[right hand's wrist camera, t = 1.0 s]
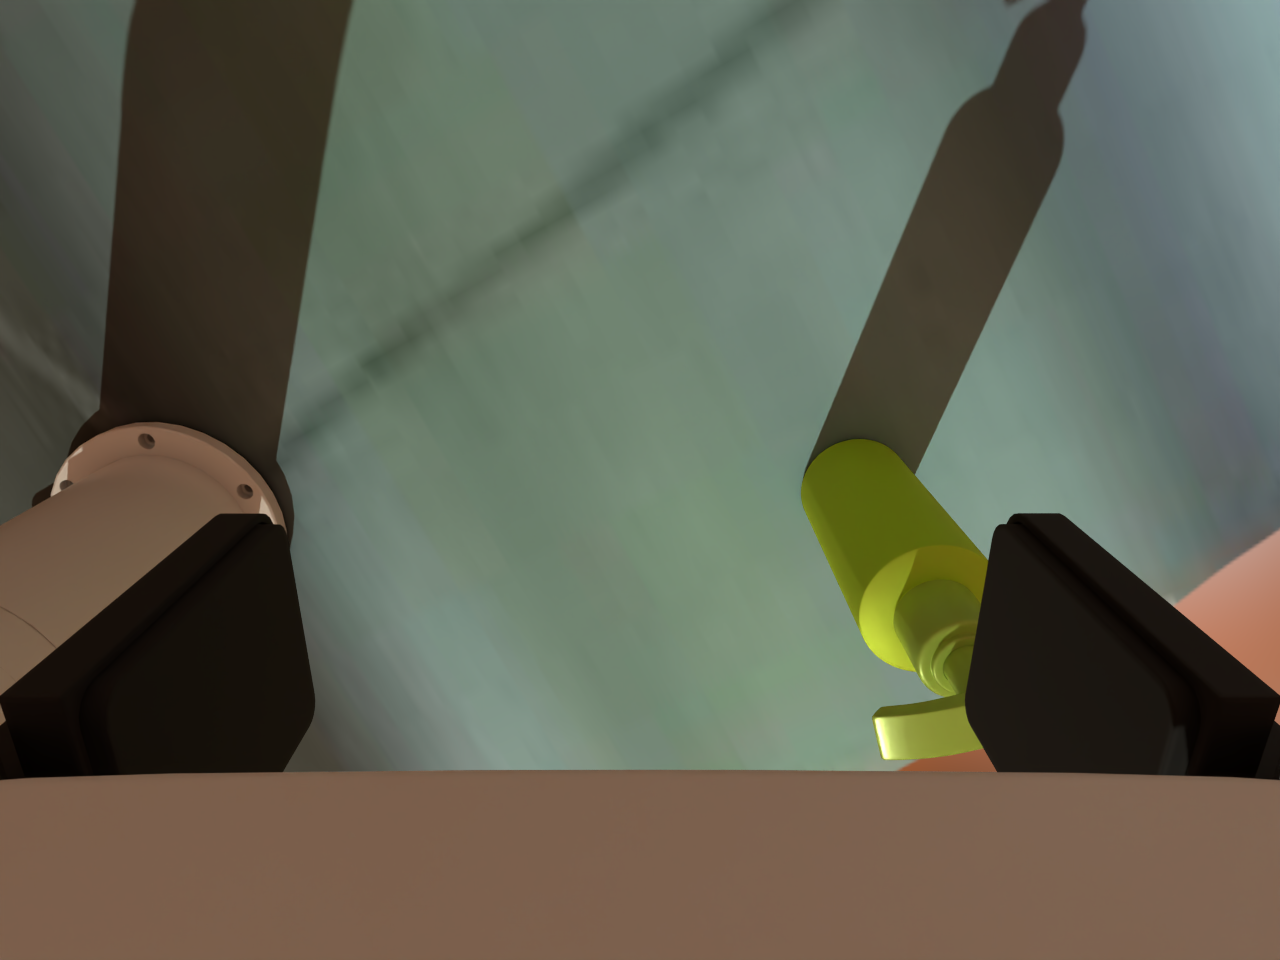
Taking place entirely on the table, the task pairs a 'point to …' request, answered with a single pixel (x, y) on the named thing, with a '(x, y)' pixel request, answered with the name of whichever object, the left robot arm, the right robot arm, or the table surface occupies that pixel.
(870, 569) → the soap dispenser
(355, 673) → the table surface
